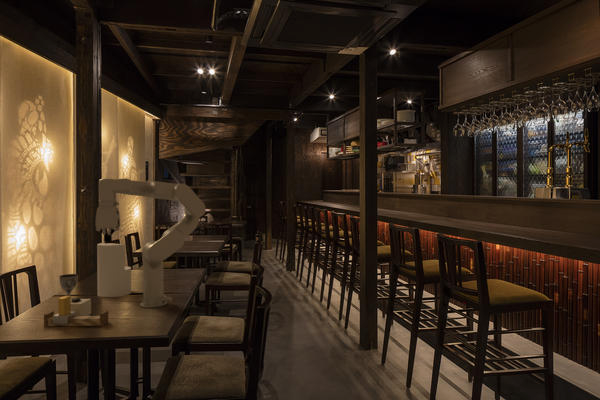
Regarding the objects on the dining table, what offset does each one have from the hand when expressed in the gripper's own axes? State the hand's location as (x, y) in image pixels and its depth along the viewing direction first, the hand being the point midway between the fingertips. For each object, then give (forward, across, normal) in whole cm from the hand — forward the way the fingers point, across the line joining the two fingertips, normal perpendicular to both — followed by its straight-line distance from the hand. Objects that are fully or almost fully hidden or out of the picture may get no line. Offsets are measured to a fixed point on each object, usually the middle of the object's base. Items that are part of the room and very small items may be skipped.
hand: (107, 243), depth 195 cm
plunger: (+31, +10, +10) cm, 34 cm away
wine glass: (+32, +24, -10) cm, 41 cm away
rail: (+32, +4, +21) cm, 39 cm away
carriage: (+32, +9, +21) cm, 39 cm away
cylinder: (+32, +12, -35) cm, 49 cm away
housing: (+32, +10, +10) cm, 35 cm away
